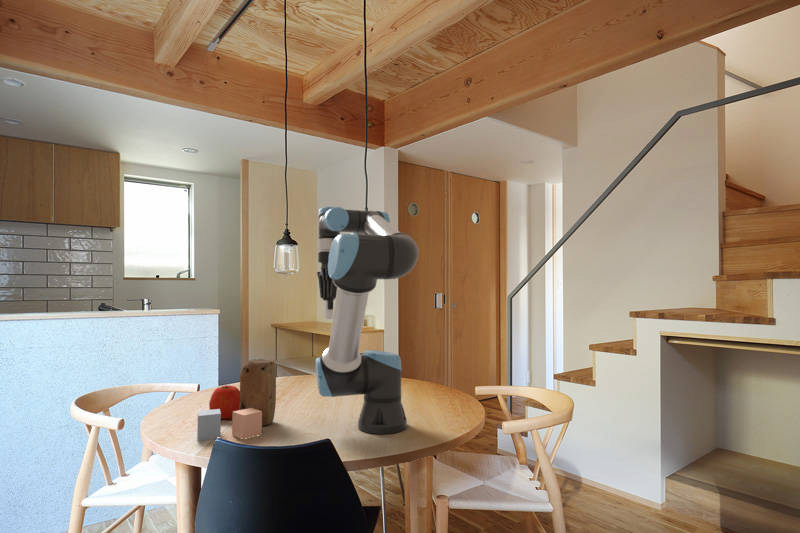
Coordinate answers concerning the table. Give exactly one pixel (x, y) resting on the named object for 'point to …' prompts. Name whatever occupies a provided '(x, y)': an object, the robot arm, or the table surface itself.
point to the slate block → (209, 424)
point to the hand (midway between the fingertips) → (328, 318)
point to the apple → (225, 401)
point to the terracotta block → (246, 423)
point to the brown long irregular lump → (259, 388)
